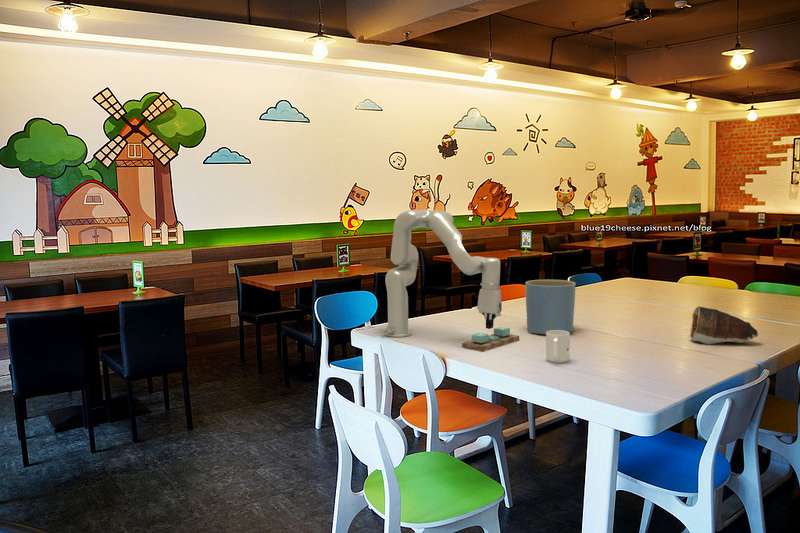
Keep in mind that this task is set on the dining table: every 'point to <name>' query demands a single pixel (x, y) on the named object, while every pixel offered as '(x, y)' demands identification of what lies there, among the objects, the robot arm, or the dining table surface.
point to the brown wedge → (719, 327)
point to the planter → (550, 305)
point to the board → (490, 343)
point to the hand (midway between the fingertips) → (489, 328)
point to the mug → (557, 346)
